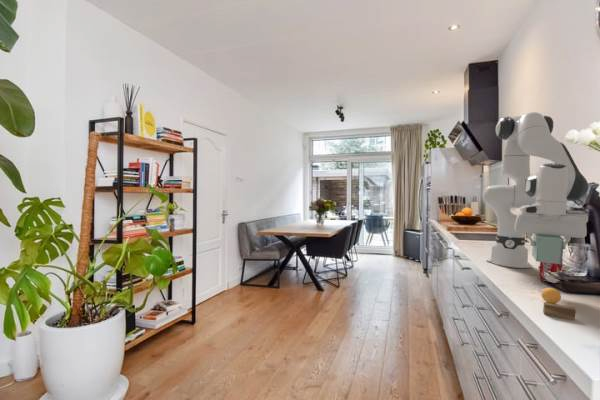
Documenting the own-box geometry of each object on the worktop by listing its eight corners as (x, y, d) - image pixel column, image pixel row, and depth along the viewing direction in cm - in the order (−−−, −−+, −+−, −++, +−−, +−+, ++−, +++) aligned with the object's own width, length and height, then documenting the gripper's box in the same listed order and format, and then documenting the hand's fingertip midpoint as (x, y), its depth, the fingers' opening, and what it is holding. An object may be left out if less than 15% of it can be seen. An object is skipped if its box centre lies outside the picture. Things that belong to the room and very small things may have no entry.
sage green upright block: (531, 254, 121) (533, 232, 120) (555, 257, 117) (557, 234, 117) (536, 261, 111) (538, 236, 111) (561, 264, 108) (564, 238, 107)
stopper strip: (543, 312, 95) (543, 302, 95) (573, 317, 92) (573, 307, 92) (544, 314, 94) (545, 304, 94) (574, 320, 90) (575, 309, 90)
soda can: (563, 285, 124) (565, 255, 123) (541, 282, 127) (543, 252, 126) (557, 280, 130) (560, 251, 130) (536, 278, 133) (538, 249, 133)
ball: (544, 297, 101) (541, 305, 104) (564, 299, 99) (560, 307, 102) (541, 283, 104) (539, 291, 108) (560, 285, 102) (557, 293, 105)
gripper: (586, 210, 110) (582, 249, 111) (515, 206, 120) (512, 242, 121) (591, 212, 105) (587, 253, 106) (517, 207, 115) (514, 245, 116)
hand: (547, 247), depth 114 cm, fingers closed on sage green upright block, 7 cm apart
